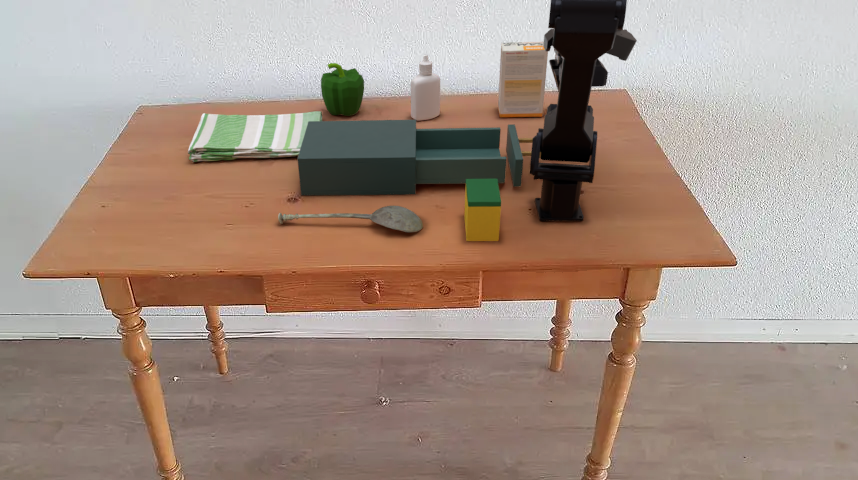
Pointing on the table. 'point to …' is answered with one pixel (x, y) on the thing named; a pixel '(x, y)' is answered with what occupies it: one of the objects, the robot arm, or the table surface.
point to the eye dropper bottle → (425, 92)
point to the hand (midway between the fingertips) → (567, 110)
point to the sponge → (482, 210)
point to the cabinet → (358, 158)
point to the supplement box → (522, 79)
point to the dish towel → (249, 136)
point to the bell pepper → (342, 90)
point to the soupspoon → (374, 218)
